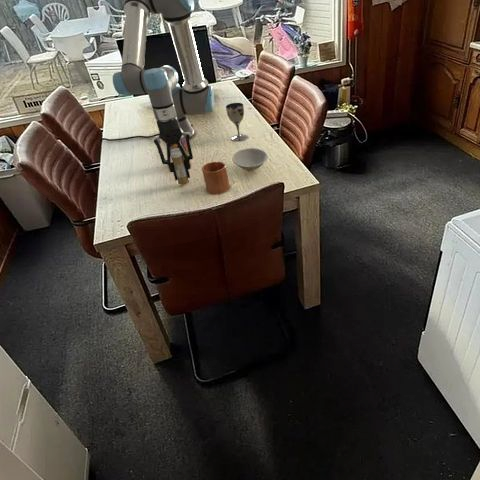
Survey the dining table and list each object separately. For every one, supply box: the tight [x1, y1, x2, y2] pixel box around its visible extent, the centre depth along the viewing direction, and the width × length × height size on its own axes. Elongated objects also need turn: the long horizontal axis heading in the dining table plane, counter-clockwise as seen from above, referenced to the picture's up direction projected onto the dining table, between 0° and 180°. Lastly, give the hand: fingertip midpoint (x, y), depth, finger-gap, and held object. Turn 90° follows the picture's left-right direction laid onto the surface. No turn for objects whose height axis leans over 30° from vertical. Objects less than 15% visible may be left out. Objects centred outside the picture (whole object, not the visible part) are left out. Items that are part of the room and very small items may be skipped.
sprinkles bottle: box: [170, 148, 190, 186], centre depth 149 cm, size 5×5×14 cm
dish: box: [231, 147, 268, 171], centre depth 158 cm, size 18×14×5 cm
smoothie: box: [170, 128, 191, 163], centre depth 160 cm, size 8×8×20 cm
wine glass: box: [225, 102, 247, 142], centre depth 180 cm, size 8×8×15 cm
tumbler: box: [201, 161, 230, 195], centre depth 146 cm, size 9×9×9 cm
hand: (182, 177), depth 152 cm, fingers closed on sprinkles bottle, 4 cm apart
